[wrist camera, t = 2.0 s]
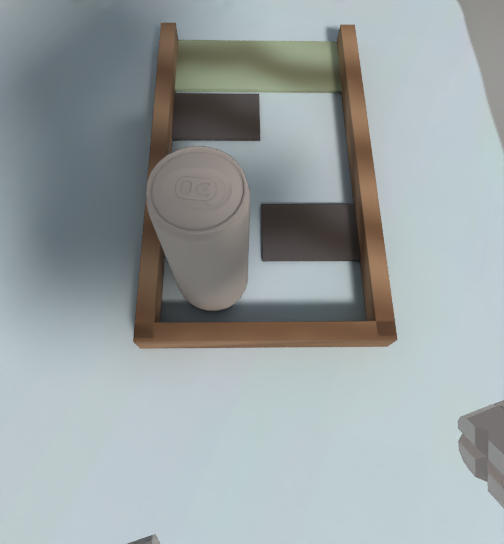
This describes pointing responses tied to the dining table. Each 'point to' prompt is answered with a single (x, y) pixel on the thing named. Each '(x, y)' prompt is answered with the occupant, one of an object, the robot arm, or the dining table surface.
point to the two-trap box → (275, 217)
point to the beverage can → (202, 223)
